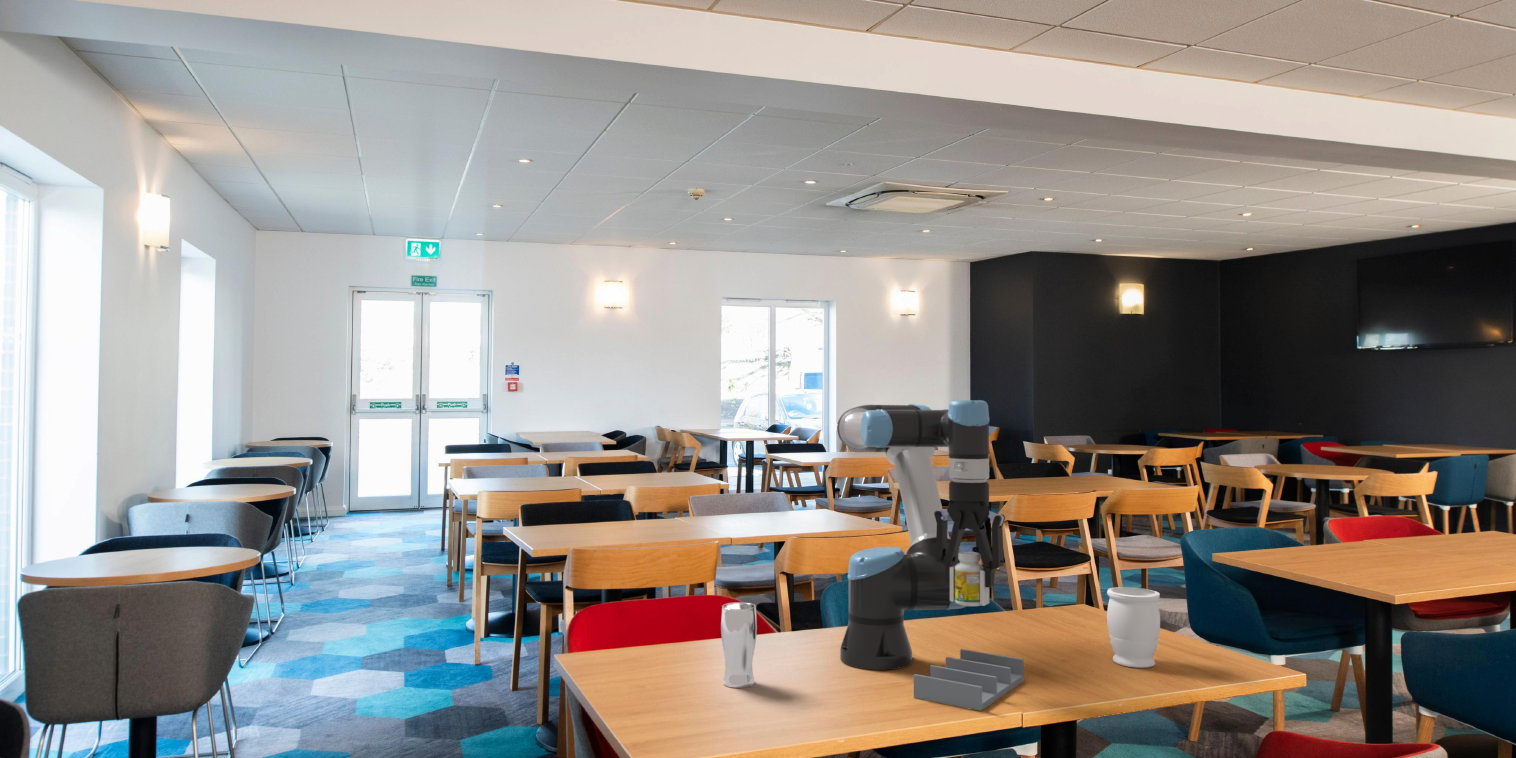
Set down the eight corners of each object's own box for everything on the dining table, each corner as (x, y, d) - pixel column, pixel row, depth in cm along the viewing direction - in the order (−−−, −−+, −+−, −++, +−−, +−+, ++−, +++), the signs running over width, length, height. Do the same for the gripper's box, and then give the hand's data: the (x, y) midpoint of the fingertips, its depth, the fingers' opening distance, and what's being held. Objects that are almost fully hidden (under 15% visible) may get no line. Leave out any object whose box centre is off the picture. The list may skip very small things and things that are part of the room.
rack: (913, 697, 169) (913, 674, 169) (961, 669, 187) (961, 648, 187) (980, 711, 161) (980, 687, 162) (1023, 680, 180) (1023, 659, 180)
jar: (1166, 671, 186) (1165, 597, 186) (1112, 668, 188) (1111, 595, 189) (1154, 657, 196) (1153, 587, 197) (1103, 654, 198) (1102, 585, 199)
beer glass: (725, 690, 173) (725, 610, 174) (717, 679, 180) (717, 603, 180) (760, 687, 175) (760, 608, 176) (751, 676, 182) (751, 601, 182)
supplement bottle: (987, 606, 172) (987, 555, 172) (959, 606, 172) (959, 555, 172) (978, 600, 177) (978, 550, 178) (951, 600, 177) (951, 550, 177)
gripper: (916, 479, 178) (916, 599, 177) (1008, 484, 167) (1009, 612, 166) (933, 476, 184) (933, 592, 183) (1022, 481, 173) (1023, 604, 172)
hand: (969, 601), depth 175 cm, fingers closed on supplement bottle, 5 cm apart
